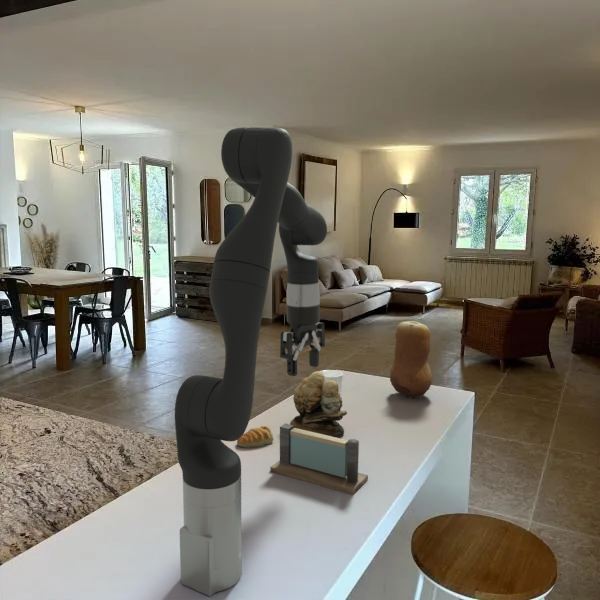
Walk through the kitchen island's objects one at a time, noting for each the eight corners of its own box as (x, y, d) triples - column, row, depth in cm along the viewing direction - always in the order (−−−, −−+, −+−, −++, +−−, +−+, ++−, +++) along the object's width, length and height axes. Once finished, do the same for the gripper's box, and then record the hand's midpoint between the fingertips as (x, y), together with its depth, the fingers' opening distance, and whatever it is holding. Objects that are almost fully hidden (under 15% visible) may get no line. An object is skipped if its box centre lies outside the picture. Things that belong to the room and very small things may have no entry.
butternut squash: (436, 394, 184) (440, 321, 180) (423, 405, 173) (426, 327, 169) (397, 387, 191) (400, 316, 188) (382, 397, 180) (384, 322, 176)
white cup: (314, 406, 171) (315, 375, 169) (321, 398, 178) (321, 368, 177) (339, 409, 169) (340, 377, 167) (344, 401, 176) (345, 371, 175)
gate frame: (352, 494, 116) (354, 449, 115) (270, 471, 127) (270, 429, 125) (367, 479, 123) (369, 437, 122) (288, 458, 134) (288, 419, 132)
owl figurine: (356, 432, 151) (358, 372, 148) (331, 445, 142) (332, 382, 139) (306, 416, 162) (307, 360, 160) (279, 428, 153) (280, 369, 151)
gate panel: (344, 478, 120) (345, 443, 119) (290, 463, 127) (290, 430, 126) (348, 474, 122) (349, 440, 121) (294, 460, 129) (294, 427, 128)
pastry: (246, 452, 137) (245, 437, 137) (231, 444, 142) (231, 430, 142) (275, 442, 143) (275, 429, 143) (260, 435, 148) (260, 421, 148)
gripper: (297, 309, 116) (298, 381, 119) (334, 299, 128) (333, 366, 131) (270, 305, 121) (271, 375, 124) (307, 296, 132) (308, 360, 135)
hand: (303, 370), depth 127 cm, fingers open, 8 cm apart
